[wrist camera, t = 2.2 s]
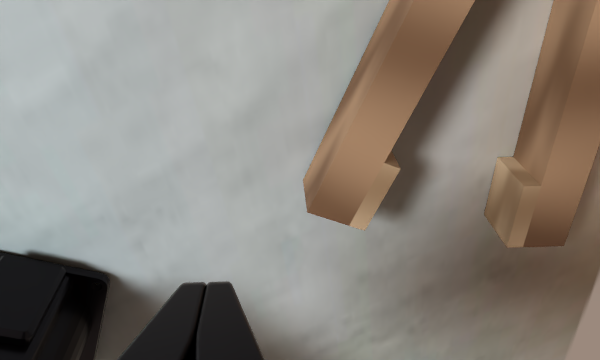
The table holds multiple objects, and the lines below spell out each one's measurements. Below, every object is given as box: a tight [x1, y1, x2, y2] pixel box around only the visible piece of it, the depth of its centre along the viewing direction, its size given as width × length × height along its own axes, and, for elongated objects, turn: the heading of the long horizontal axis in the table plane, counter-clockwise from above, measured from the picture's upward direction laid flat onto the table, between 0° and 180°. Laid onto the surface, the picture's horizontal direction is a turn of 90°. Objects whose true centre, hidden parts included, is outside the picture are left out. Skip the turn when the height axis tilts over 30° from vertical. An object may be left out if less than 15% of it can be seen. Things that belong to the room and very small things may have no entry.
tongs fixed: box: [484, 0, 600, 248], centre depth 17 cm, size 18×5×3 cm, turn 179°
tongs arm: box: [303, 0, 475, 231], centre depth 16 cm, size 17×4×4 cm, turn 157°
